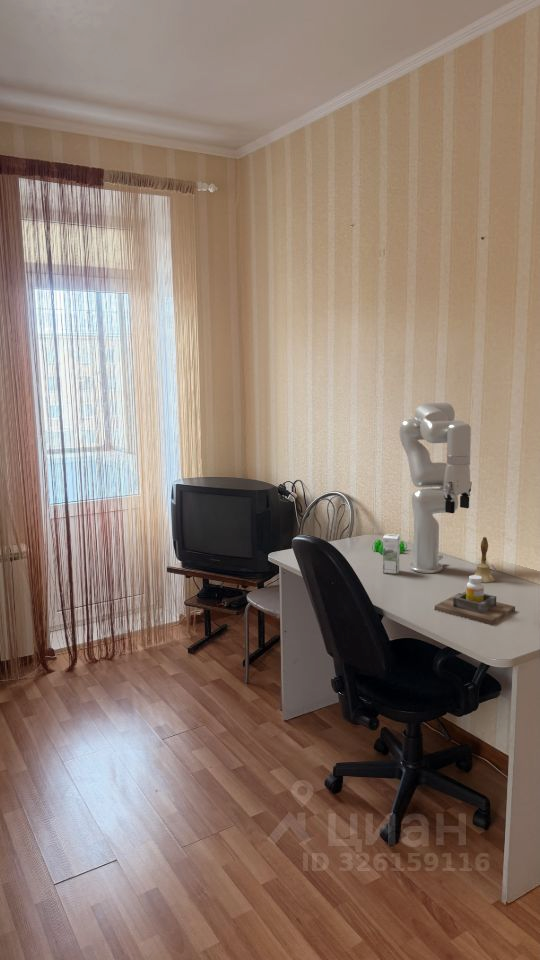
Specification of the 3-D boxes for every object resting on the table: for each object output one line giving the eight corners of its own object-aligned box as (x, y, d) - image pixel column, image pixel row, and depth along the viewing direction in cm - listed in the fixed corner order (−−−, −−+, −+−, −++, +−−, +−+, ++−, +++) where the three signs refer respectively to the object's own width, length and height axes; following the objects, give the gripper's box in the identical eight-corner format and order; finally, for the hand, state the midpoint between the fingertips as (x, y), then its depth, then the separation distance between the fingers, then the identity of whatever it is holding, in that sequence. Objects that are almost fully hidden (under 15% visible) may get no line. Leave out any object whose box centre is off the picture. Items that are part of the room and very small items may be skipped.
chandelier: (368, 547, 304) (368, 531, 303) (402, 546, 305) (403, 530, 304) (375, 556, 290) (375, 540, 288) (410, 555, 290) (411, 539, 289)
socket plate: (459, 597, 238) (459, 584, 238) (515, 610, 225) (515, 597, 224) (434, 609, 227) (434, 596, 226) (491, 625, 213) (492, 611, 212)
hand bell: (477, 574, 262) (478, 533, 260) (498, 578, 257) (499, 536, 254) (467, 580, 256) (468, 538, 253) (489, 584, 251) (490, 541, 248)
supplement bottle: (463, 602, 228) (464, 574, 227) (479, 602, 229) (480, 574, 227) (468, 608, 223) (470, 579, 221) (485, 608, 223) (486, 579, 222)
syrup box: (399, 570, 270) (400, 534, 267) (397, 574, 264) (397, 537, 262) (385, 569, 272) (385, 533, 269) (382, 573, 266) (382, 537, 264)
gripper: (461, 456, 241) (460, 504, 244) (434, 462, 229) (434, 513, 232) (481, 458, 236) (479, 507, 239) (455, 464, 223) (454, 516, 226)
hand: (457, 510), depth 235 cm, fingers open, 9 cm apart
